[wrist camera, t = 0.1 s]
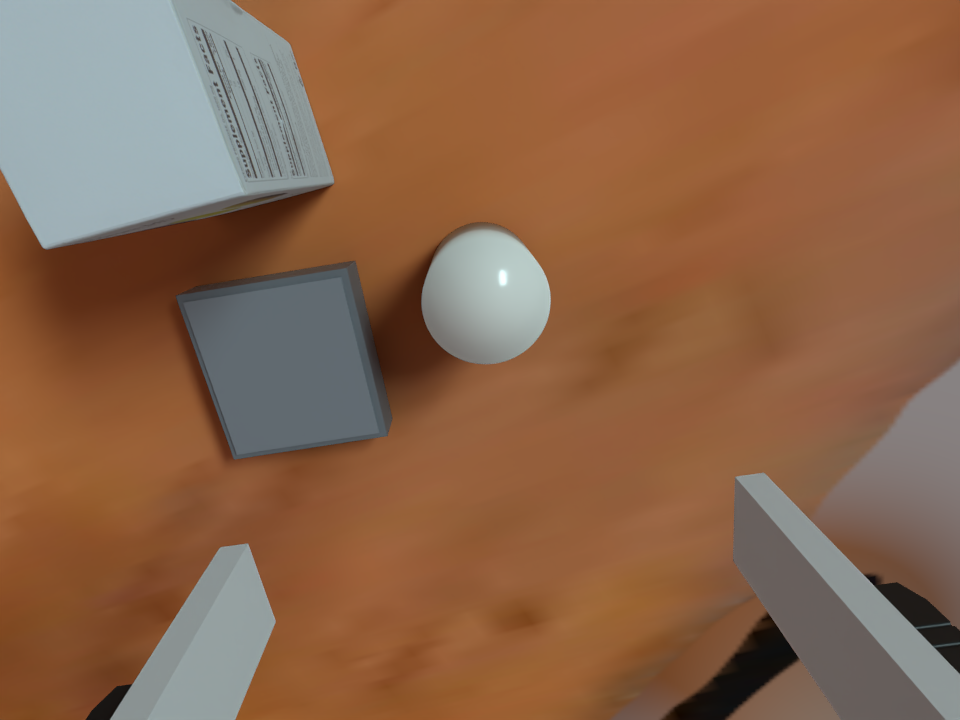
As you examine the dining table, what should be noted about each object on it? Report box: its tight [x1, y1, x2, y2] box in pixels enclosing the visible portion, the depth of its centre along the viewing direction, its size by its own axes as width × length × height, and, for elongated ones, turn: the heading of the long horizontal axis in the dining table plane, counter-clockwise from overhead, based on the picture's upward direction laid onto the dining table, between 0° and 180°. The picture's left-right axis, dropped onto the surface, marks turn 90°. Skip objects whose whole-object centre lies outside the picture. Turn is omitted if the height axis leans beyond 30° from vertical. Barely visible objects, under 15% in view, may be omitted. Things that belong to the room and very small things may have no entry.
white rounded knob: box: [421, 222, 551, 364], centre depth 36 cm, size 8×8×9 cm
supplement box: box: [0, 0, 334, 250], centre depth 29 cm, size 10×9×17 cm
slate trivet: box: [176, 261, 392, 459], centre depth 40 cm, size 13×12×3 cm
